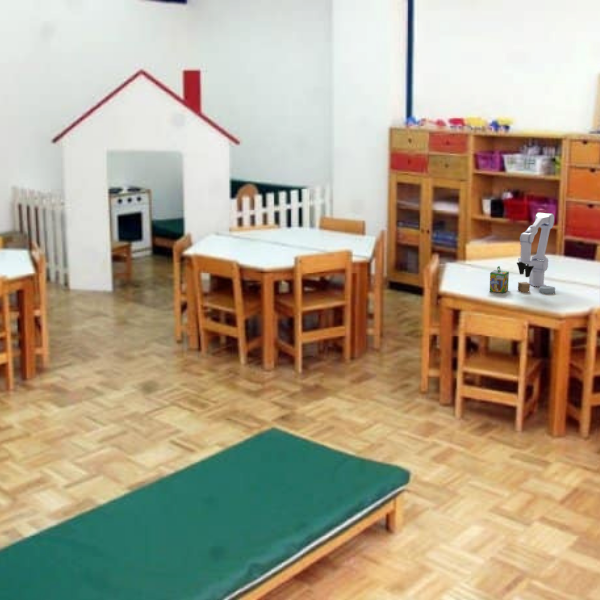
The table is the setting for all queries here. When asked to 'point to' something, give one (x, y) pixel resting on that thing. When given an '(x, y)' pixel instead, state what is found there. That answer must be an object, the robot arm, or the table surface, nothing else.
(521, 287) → the cube
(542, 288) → the platform
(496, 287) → the chalk box
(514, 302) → the table surface
